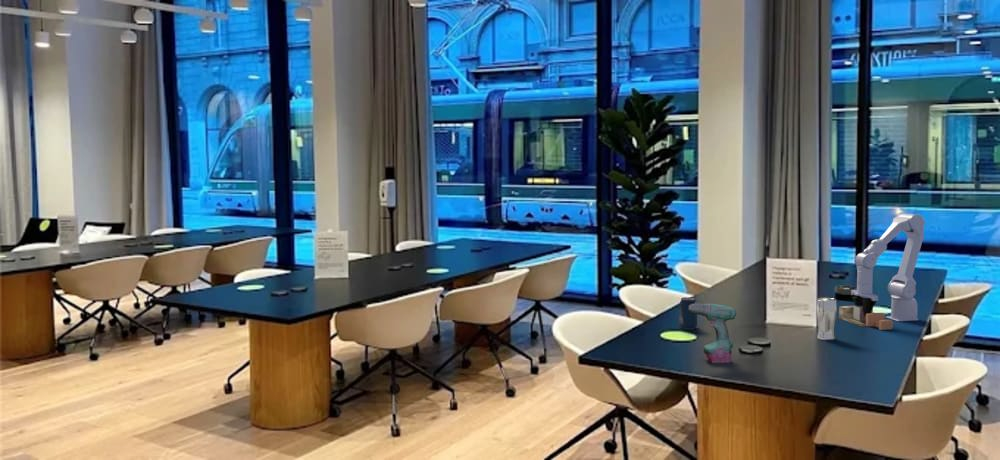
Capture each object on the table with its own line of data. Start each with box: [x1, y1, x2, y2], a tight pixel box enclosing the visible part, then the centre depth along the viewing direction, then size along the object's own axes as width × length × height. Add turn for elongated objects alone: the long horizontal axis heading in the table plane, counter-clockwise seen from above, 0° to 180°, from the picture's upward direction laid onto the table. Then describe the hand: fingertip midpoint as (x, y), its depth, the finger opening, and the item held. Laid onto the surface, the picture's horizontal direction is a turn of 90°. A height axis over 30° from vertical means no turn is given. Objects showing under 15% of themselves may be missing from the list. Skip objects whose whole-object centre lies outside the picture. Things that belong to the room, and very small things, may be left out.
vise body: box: [838, 305, 866, 327], centre depth 328 cm, size 10×15×5 cm
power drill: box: [689, 303, 737, 364], centre depth 273 cm, size 7×16×20 cm, turn 95°
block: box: [852, 305, 874, 323], centre depth 327 cm, size 6×4×6 cm, turn 101°
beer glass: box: [816, 297, 838, 341], centre depth 301 cm, size 7×7×15 cm
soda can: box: [679, 296, 698, 330], centre depth 322 cm, size 7×7×12 cm
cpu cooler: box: [833, 285, 857, 301], centre depth 377 cm, size 10×6×10 cm
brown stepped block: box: [865, 312, 894, 331], centre depth 317 cm, size 7×8×5 cm
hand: (863, 315), depth 327 cm, fingers open, 4 cm apart
